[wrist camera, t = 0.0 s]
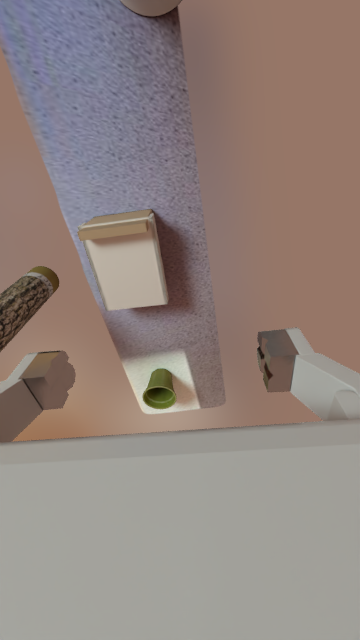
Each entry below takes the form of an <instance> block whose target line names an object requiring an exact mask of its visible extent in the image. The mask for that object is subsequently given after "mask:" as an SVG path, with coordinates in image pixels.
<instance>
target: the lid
mask: <svg viewBox="0 0 360 640" xmlns="http://www.w3.org/2000/svg"><path fill="white" fill-rule="evenodd" d="M85 224H86V223H82V224H81V225H80V226H78V230H79V231H78V232H77V233H78V236H79V239H80V241H83V244H84V247H85V250H86V253H87V256H88V259H89V262H90V265H91V268H92V271H93V274H94V277H95V280H96V283H97V286H98V289H99V292H100V295H101V298H102V300H103V303H104V306H105V309H106V311H108V310H118V309H127V308H136V307H146V306H155V305H164V304H168V299H169V297H168V291H167V285H166V280H165V274H164V268H163V263H162V257H161V251H160V246H159V240H158V235H157V229H156V223H155V218H154V213H152V214H150V216H149V217H142V218H135V219H128V220H121V221H113V222H106V223H99V224H91V225H85Z"/></svg>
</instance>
